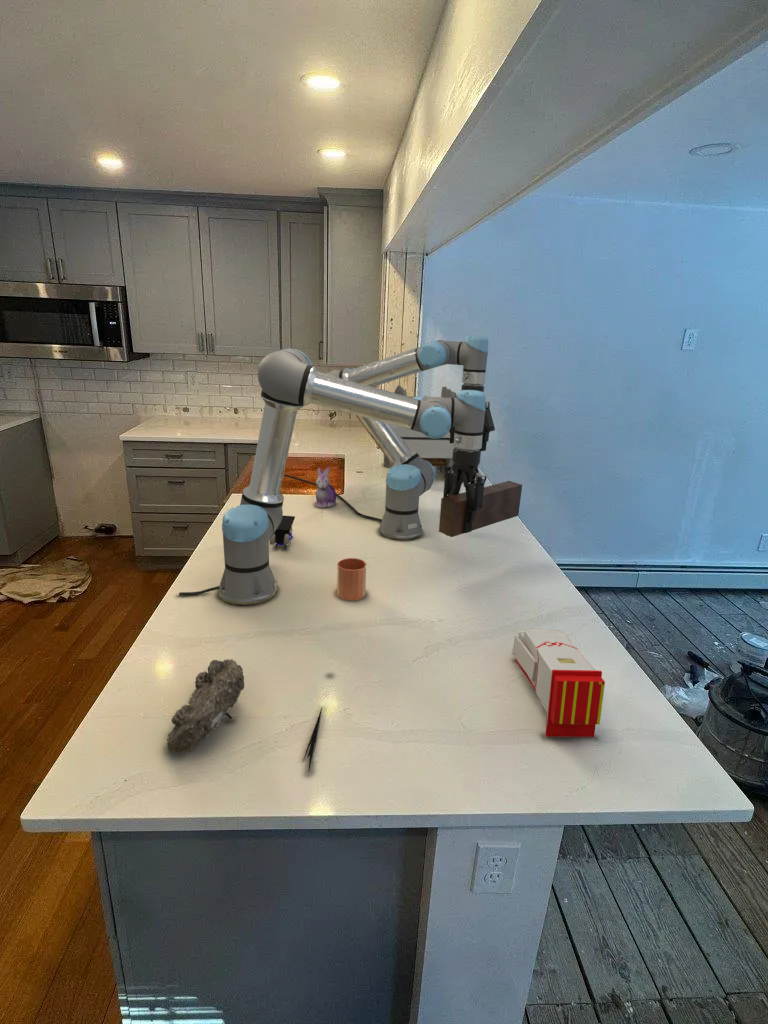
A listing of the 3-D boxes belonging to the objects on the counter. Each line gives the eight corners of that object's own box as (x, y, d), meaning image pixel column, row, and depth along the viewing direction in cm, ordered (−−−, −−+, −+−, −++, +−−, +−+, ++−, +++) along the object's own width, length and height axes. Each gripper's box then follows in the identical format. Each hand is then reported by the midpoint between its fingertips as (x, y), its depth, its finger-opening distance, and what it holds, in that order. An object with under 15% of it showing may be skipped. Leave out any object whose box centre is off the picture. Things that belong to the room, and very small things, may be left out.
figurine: (319, 509, 219) (319, 472, 214) (309, 501, 228) (309, 465, 223) (341, 506, 224) (342, 470, 218) (331, 499, 232) (332, 463, 227)
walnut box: (451, 537, 155) (454, 503, 152) (438, 531, 159) (441, 498, 156) (518, 515, 174) (522, 484, 171) (505, 511, 178) (509, 480, 174)
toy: (559, 614, 131) (614, 677, 102) (553, 667, 134) (605, 744, 105) (507, 613, 131) (547, 676, 102) (503, 666, 134) (541, 743, 104)
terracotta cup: (331, 592, 157) (331, 562, 154) (353, 584, 162) (354, 555, 159) (348, 603, 152) (349, 573, 149) (371, 595, 157) (372, 565, 154)
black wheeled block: (290, 555, 182) (296, 533, 195) (289, 535, 178) (295, 513, 192) (269, 555, 181) (276, 532, 195) (268, 534, 178) (275, 513, 191)
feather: (331, 679, 122) (336, 673, 122) (307, 777, 96) (313, 769, 95) (324, 675, 122) (329, 669, 121) (298, 772, 95) (304, 764, 95)
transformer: (382, 463, 289) (386, 382, 275) (445, 464, 293) (451, 384, 279) (390, 482, 257) (394, 392, 243) (460, 483, 261) (468, 394, 247)
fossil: (192, 660, 117) (244, 628, 112) (224, 691, 120) (276, 661, 115) (142, 746, 98) (202, 712, 93) (182, 779, 101) (242, 748, 96)
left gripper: (433, 443, 157) (427, 522, 165) (484, 457, 144) (475, 542, 152) (452, 440, 162) (445, 517, 170) (502, 454, 149) (493, 536, 157)
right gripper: (438, 380, 196) (433, 440, 203) (495, 390, 178) (488, 455, 185) (453, 379, 200) (448, 438, 207) (510, 388, 183) (502, 452, 190)
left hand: (459, 528), depth 161 cm, fingers closed on walnut box, 5 cm apart
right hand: (467, 446), depth 196 cm, fingers open, 13 cm apart
